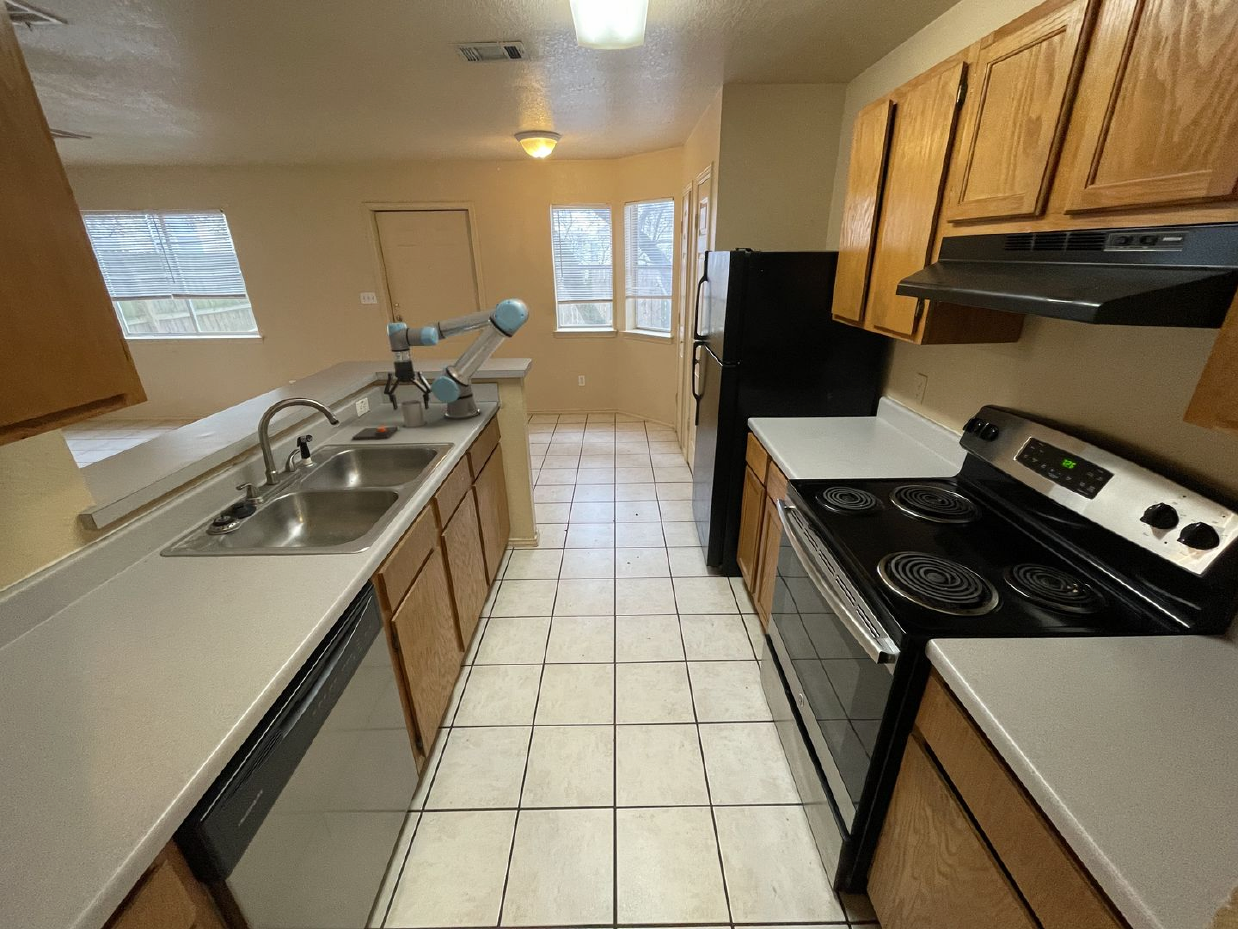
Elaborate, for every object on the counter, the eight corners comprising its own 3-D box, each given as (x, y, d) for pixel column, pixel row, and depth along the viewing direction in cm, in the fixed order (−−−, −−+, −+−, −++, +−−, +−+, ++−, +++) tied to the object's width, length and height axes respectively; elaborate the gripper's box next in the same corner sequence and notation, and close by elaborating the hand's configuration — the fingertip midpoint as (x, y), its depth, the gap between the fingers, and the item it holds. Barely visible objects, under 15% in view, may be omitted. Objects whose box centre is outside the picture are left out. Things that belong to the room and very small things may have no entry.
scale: (399, 429, 219) (397, 423, 218) (388, 439, 207) (386, 432, 206) (365, 431, 219) (364, 424, 218) (352, 440, 207) (350, 433, 206)
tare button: (387, 430, 211) (386, 426, 210) (384, 432, 208) (383, 428, 207) (380, 430, 210) (379, 426, 210) (377, 432, 208) (376, 429, 207)
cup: (401, 426, 223) (396, 404, 219) (413, 421, 230) (409, 399, 227) (417, 427, 221) (412, 405, 217) (428, 422, 228) (425, 400, 224)
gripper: (369, 363, 211) (379, 412, 219) (429, 361, 212) (437, 410, 220) (376, 359, 218) (386, 407, 226) (434, 358, 219) (442, 405, 227)
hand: (411, 409), depth 223 cm, fingers open, 13 cm apart
